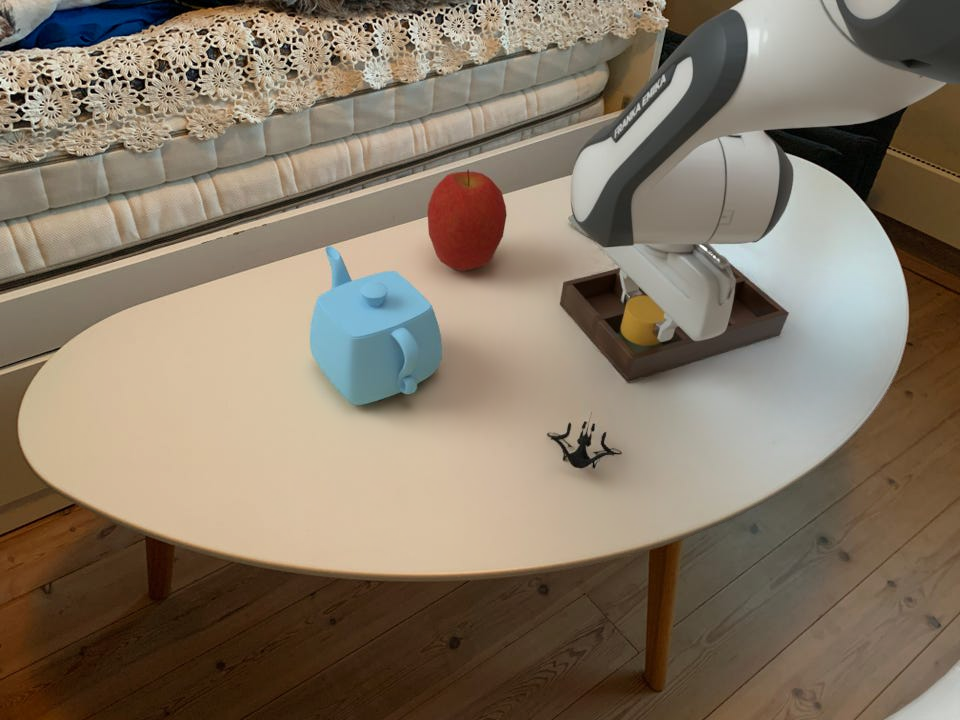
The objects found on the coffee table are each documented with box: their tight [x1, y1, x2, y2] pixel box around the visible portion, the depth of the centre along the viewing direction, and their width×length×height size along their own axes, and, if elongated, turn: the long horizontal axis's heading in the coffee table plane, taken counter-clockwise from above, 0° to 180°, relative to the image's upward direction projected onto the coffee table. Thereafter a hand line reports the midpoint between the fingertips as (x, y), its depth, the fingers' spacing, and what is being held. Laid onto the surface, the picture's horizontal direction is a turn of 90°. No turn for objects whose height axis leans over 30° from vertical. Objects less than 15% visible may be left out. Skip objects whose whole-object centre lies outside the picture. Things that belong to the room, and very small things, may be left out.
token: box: [621, 296, 667, 346], centre depth 89 cm, size 5×5×3 cm
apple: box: [427, 168, 508, 272], centre depth 99 cm, size 10×10×14 cm
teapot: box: [309, 245, 443, 406], centre depth 84 cm, size 12×18×12 cm
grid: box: [559, 251, 790, 383], centre depth 96 cm, size 15×23×4 cm
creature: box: [546, 411, 622, 470], centre depth 78 cm, size 8×5×8 cm
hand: (645, 320), depth 89 cm, fingers closed on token, 5 cm apart
